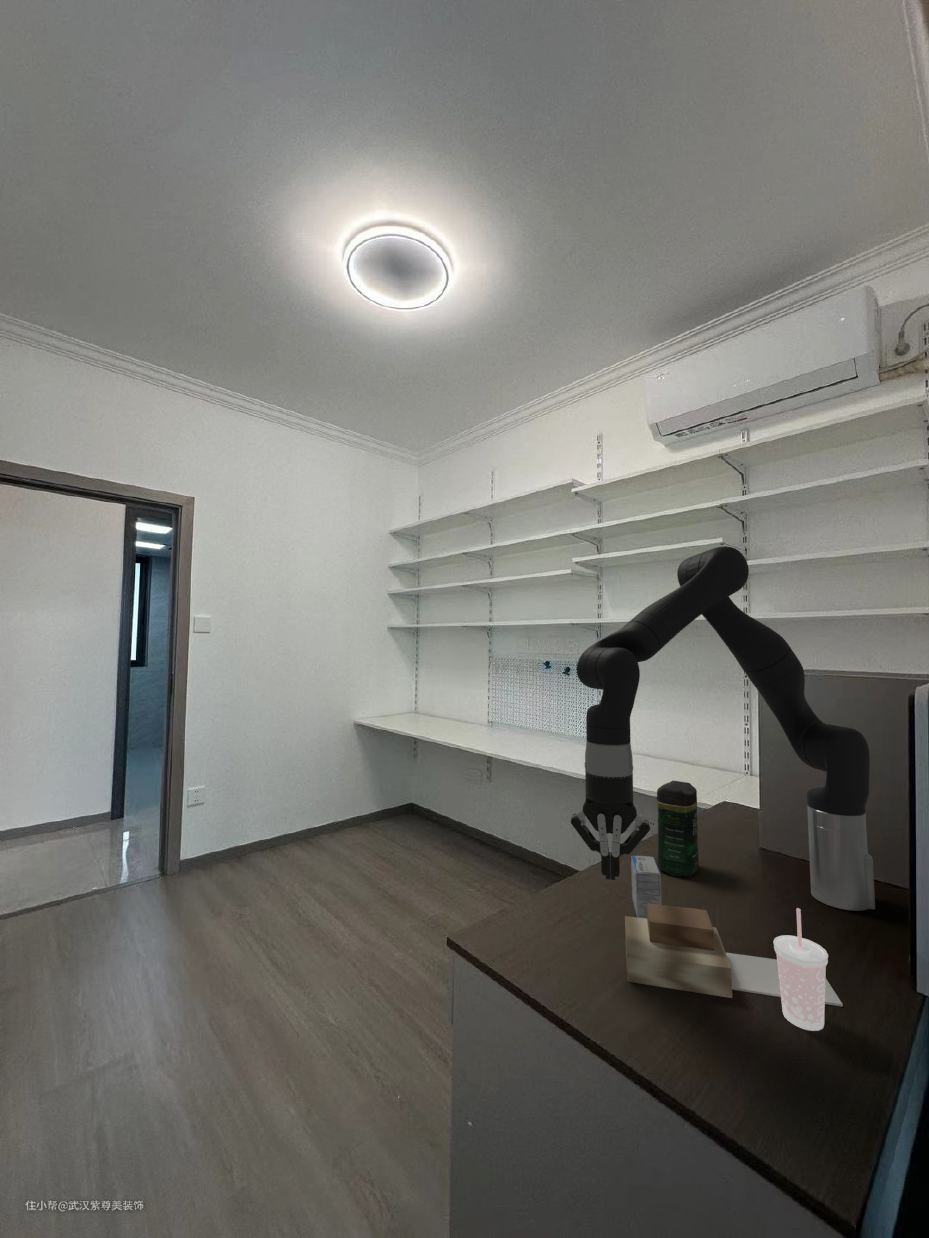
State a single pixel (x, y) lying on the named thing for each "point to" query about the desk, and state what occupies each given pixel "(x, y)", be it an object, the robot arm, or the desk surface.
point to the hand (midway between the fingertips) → (610, 877)
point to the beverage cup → (801, 979)
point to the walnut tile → (680, 926)
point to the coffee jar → (677, 828)
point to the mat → (764, 977)
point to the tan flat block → (675, 963)
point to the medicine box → (645, 884)
